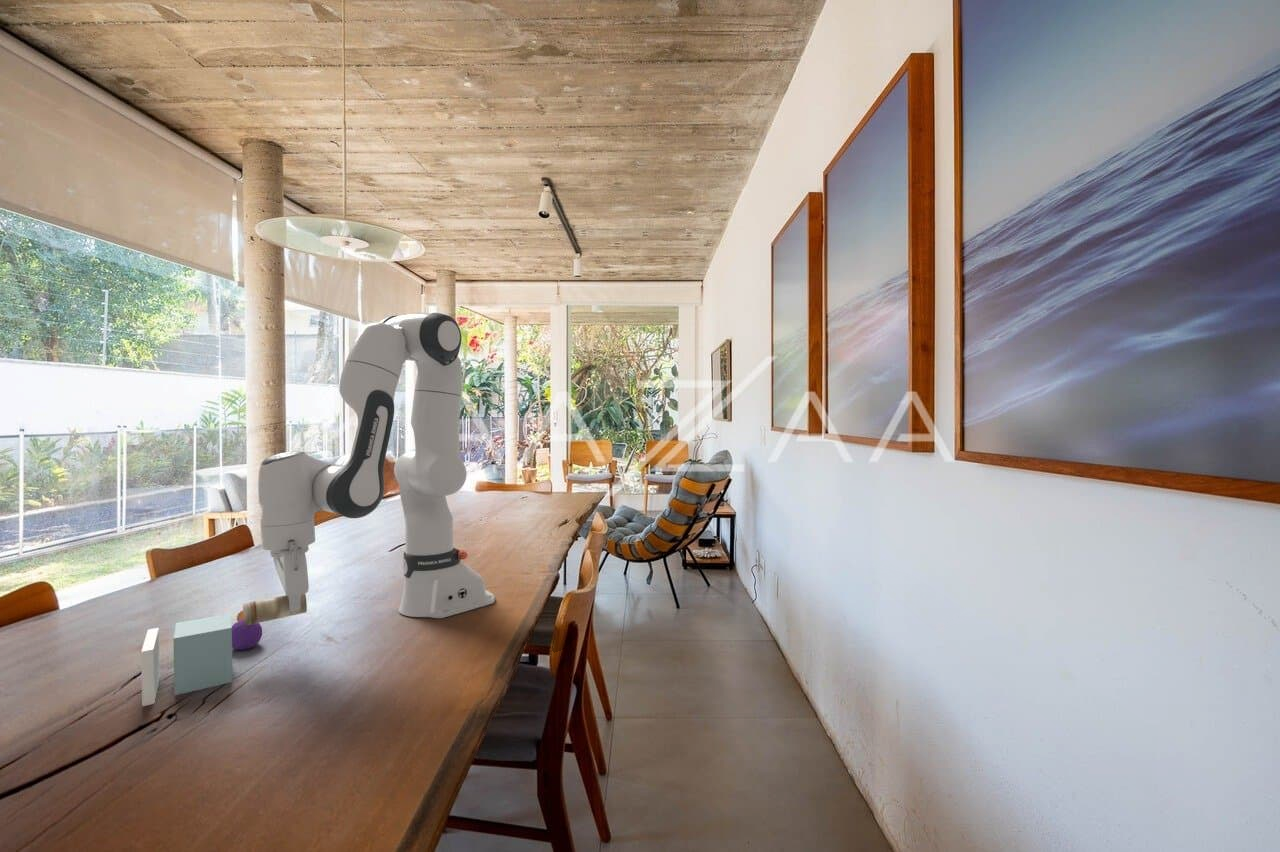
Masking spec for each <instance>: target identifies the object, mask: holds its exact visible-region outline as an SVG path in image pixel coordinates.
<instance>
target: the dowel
mask: <svg viewBox="0 0 1280 852" xmlns="http://www.w3.org/2000/svg"><path fill="white" fill-rule="evenodd" d="M300 602H301V609H300V610H298V611H293V612H292V611H290V609H289V598H288V596H286V595H280V596H275V597H271V598H267V599H261V600H257V601H256V600H255V601H249V602H246V603H242V611H243V617H244V626H246V625H252V624H257V623H260V624H261V623H264V622H268V621H273V620H278V619H283V618H286V617H291V616H296V615H301V614H306V613H308V612H307V611H308V609H307V608H308V605H307V603H308V602H307V596H306V593H304V594H301V601H300Z"/></svg>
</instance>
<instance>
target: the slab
mask: <svg viewBox="0 0 1280 852" xmlns="http://www.w3.org/2000/svg"><path fill="white" fill-rule="evenodd" d="M140 653H141V659H140V661H141V703H142V704H141V705H142V706H141V707H146V706H150V705H154V704H155V701H156V697H157V691H158V687H159V683H160V678H161V675H160V674H161V673H160V672H161V671H160V670H161V669H160V668H161V665H160V627H156V628H149V629H147V632H146V635H145V637H144V641H143V645H142V647H141V652H140Z"/></svg>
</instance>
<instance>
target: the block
mask: <svg viewBox="0 0 1280 852" xmlns="http://www.w3.org/2000/svg"><path fill="white" fill-rule="evenodd" d="M231 616H232V615H231V613H225V614H220V615H215V616H209V617H203V618H196V619H191V620H186V621H179V622H176V623H175V627H174V633H173V638H172V639H173V677H174V678H173V682H174V683H173V685H174V686H173V687H174V688H173V691H174V695H173V696H178V695H183V694H188V693H191V692H195V691H200V690H204V689H209V688H213V687H217V686H221V685H227V684H231V683H233V648H232V626H233V625H232V617H231Z"/></svg>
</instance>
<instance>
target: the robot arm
mask: <svg viewBox="0 0 1280 852" xmlns="http://www.w3.org/2000/svg"><path fill="white" fill-rule="evenodd" d="M461 345H462V332H461V328H460V326H459V324H458V322H457V320H455V318H453V317H452V316H450V315H447V314H445V313H440V312H432V313H429V312H413V313H409V314H402V315H392V316H389V317H386V318H384V319H382V320H380V321H379V322H371V323H369V324H367V325H365V326H364V327H363V328H362V329H361V331H360V333H359V334H358V336H357V337H356V339H355V341H354V343H353V345H352V346H351V349H350V351H349V353H348V355H347V357H346V360H345V363H344V365H343V368H342V371H341V374H340V379H339V386H338V387H339V389H338V390H339V393H340V396H341V398H342V399H343V401H344V402H345V403H346V405H348V406H349V408H351V409H352V410H353V411H354V412H355V414H356V416H357V428H356V432H355V435H354V439H353V440H354V441H353V443H352V444H353V445H352V448H351V451H350V452H351V453H350V456H349V458H348V460H347V462H346V463H345V464H344V465H343V464H335V463H332V462H327V461H324V460H321V459H317V458H315V457H313V456H311V455H308V454H307V453H306V452H305V451H302V450H293V451H291V450H290V451H286V452H280V453H276V454H273V455H271V456H269V457H266V458H265V459H264V460H263V461H262V462H261V464H260V467H259V471H258V482H257V483H258V485H257V486H258V487H257V488H258V493H257V494H258V503H259V505H260V508H261V512H262V513H261V519H260V523H259V524H260V535H261V549H263V550H264V551H269V552H270V557H271V558H273V562H274V566H275V571H276V574H277V576H278V579H279V581H280V583H281V586H282V589H283V591H284V594H285V596H288V598H289V609H290V611H292V612H293V611H298V610H300V609H301V602H300V601H301V594H304V593H305V594H307V593H308V592H309V590H310V589H309V586H310V585H309V574H308V562H307V557H306V553H308V552H309V551H310V549H309V548H310V547H309V546H310V545H312V544H314V543H315V542H316V530H315V529H316V528H315V513H317V512H319V511H324V512H328V513H333V514H337V515H338V516H339V515H340V516H342V517H344V518H348V519H360V518H364V517H366V516H368V515H369V514H371V513H373V512H374V511H375V509H376V508H378V506H379V505H380V504H381V501H382V499H383V497H384V496H383V495H384V490H385V488H384V487H385V485H384V484H385V483H384V468H385V467H384V464H385V460H386V456H387V451H388V445H389V442H390V438H391V433H392V428H393V427H392V426H393V425H394V424H393V423H394V417H395V396H396V390H397V387H398V384H399V383H398V382H399V380H400V378H401V374H402V370H403V366H404V363H405V362H406V361H410V362H412V361H413V362H414V363H415V366H416V369H417V375H416V378H415V384H414V385H415V386H414V391H413V392H414V393H413V401H412V407H411V409H412V410H411V417H410V426H411V428H412V430H413V436H414V446H415V447H414V449H411V450H409V451H406V452H405V453H404V452H403V454H401V455H400V456H399V457H398V458H397V459H396V461H395V463H394V466H393V473H394V477H395V479H396V481H397V484H398V489H399V491H398V492H399V495H400V497H399V498H400V500H401V506H402V512H403V517H404V530H405V531H404V535H405V537H404V538H405V539H404V540H405V547H404V548H405V551H404V552H403V559H402V571H403V576H404V581H403V582H404V583H403V592H402V596H401V601H400V605H399V608H398V612H399V614H401V615H403V616H406V617H410V618H411V617H412V618H433V619H444V618H446V617H451V616H454V615H458V614H460V613H465V612H468V611H472V610H474V609H479V608H482V607H485V606H489V605H491V604H494V603H495V595H494V594H493V593H492V592H491V591H489V590H488V589H486V586H485V582H484V579H483V577H482V575H481V574H480V573H478V572H477V571H476V570H474V569H473V568H471V567H470V566H469V565H466V564H464V562H462V561H461V560H466V559H467V558H468V556H469V555H468V552H467V551H465V550H463V549H462V550H460V549H458V548H456V547H454V518H453V514H452V512H451V511H450V508H449V505H448V501H447V498H446V497H447V496H451V495H453V494H456V493H458V491H460V490H461V489H462V488H463V486H464V485H465V483H466V480H467V468H466V466H465V464H464V461H463V460H462V455H461V445H460V444H461V443H460V437H459V421H460V412H461V405H462V404H461V403H462V395H463V393H462V392H463V368H462V366H463V365H462V361H461V358H460V357H459V353H460V349H461V347H462V346H461Z"/></svg>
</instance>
